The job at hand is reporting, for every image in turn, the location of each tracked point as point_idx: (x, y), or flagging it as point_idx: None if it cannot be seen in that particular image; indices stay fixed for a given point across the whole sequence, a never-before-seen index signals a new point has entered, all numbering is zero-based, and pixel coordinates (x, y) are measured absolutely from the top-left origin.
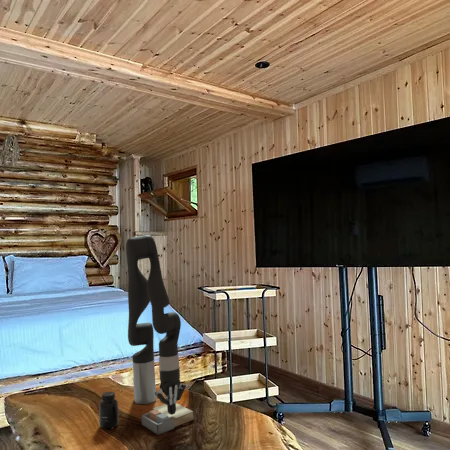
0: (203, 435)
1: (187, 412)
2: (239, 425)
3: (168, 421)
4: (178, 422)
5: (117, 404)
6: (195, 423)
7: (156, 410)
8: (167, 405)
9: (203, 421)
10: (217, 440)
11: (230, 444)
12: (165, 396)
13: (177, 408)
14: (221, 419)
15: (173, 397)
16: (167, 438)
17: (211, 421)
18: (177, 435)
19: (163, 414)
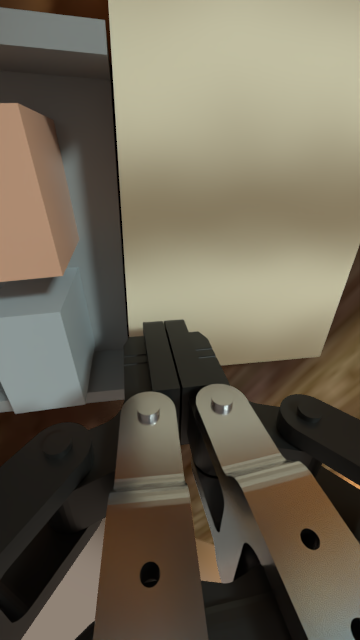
0: (190, 472)
1: (286, 345)
2: (332, 472)
3: None
4: None
5: None
6: (255, 371)
7: (30, 168)
8: (125, 397)
9: (296, 376)
10: (198, 512)
11: (207, 537)
12: (109, 520)
13: (311, 205)
14: (352, 406)
15: (215, 540)
16: (32, 422)
17: (315, 397)
18: (97, 423)
19: (62, 348)
